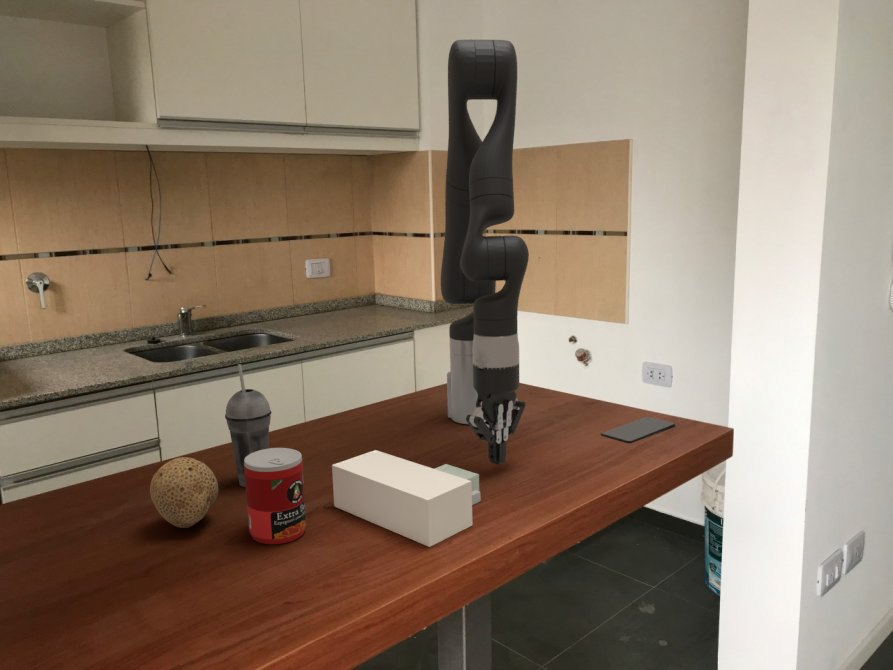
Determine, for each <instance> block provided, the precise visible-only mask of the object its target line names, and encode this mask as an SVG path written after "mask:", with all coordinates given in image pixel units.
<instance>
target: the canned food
mask: <svg viewBox="0 0 893 670" xmlns="http://www.w3.org/2000/svg"><path fill="white" fill-rule="evenodd" d="M244 470H245V484H246V487H245V496H246V505H247V517H248V518H247V519H248V530H249V531H248V532H249V533H250V536H251V538H252V539H253V541H255V542H257V543H260V544H264V545H281V544H286V543H290V542H293V541H296V540H297V539H299V538H301V537H302V536H303V535H304V533H305V531H306V527H307V513H306V499H305V497H306V496H305V495H306V494H305V481H304V465H303V455H302V453H301V452H300V451H299V450H296V449H293V448H288V447H269V449H263V450H259V451H256V452H253V453H251V454H249V455H248V456H246V457H245V459H244Z"/></svg>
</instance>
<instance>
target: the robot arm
mask: <svg viewBox="0 0 893 670" xmlns="http://www.w3.org/2000/svg"><path fill="white" fill-rule="evenodd" d="M516 53H517V51H516V49H515V46H514V44H513V43H512V42H511V41H509V40H505V39H457V40H455V41H453V43H452V44H451V46H450V48H449V52H448V57H447V58H448V60H447V61H448V62H447V104H448V105H447V106H448V111H447V112H448V142H447V159H446V172H445V191H444V193H445V195H444V197H445V198H444V199H445V203H444V204H445V205H444V206H445V212H444V213H445V214H444V216H445V217H444V218H445V219H444V223H445V224H444V226H445V227H444V240H443V241H444V242H443V249H442V250H443V251H442V258H441V259H442V260H441V272H440V292H441V296H442V299H443V301H444V302H446V303H447V304H450V305H467V304H469V305H470V304H473V306H472V307H473V311H472V312H471V313H469V314H467V315H465V316H464V317H460V318H459V319H457V320H454V321H452V322H451V323H450V324H449V329H448V331H449V332H448V333H449V334H448V335H449V361H450V362H449V363H450V366H449V367H450V369H449V371H448V372H447V373H446V390H447V391H446V393H447V394H446V395H447V418H450V419H451V420H452V421H453V422H455V423H458V424H464V425H469V427H470V428H471V429H472V431H473V432H474V434H475V436H477V438H478V440H480V441H485V442H487V443H488V444H487V445H488V446H487V447H488V448H487V449H488V453H487V454H488V457H487V458H488V459H489V463H492V464H494V465H498V466H499V465H501V464H503V463H506V456H507V441H508V438H509V436H510V435H514V434H515V432H516V430H517V428H518V427H517V426H518V424H519V422H520V421H521V417H522V415H523V412H524V410H525V408H526V405H527V404H526V402H525V401H522V400H519V399H518V398H517V393H516V391H517V390H519V388H520V344H519V343H520V341H519V333H518V307H519V298H520V295H521V294H520V293H521V289H522V285H523V281H524V278H525V275H526V272H527V268H528V264H529V257H530V255H529V247H528V245H527V243H526V242H525V240H524V239H523V238H522V237H520V236H518V235H491V236H489V235H488V236H485V235H484V236H483V234H484V232H485V230H487V229H488V228H490V227H492V226H497V225H500V224H504V223H507V222H509V221H511V220H512V219H513V218H514V214H515V195H514V177H513V159H514V158H513V155H514V154H513V151H514V140H515V127H516V114H517V113H516V111H517V97H518V96H517V95H518V94H517V93H518V92H517V91H518V57H517V54H516ZM470 100H471V101H472V100H473V101H474V100H475V101H476V100H479V101H480V100H481V101H482V100H493V101H496V110H495V116H494V119H493V122H492V124H491V126H490V127H489V129H488V131H487V133H486V136H484V139H483V140H482V139H481V137H480V136H479V133H478V132H477V130H476V128H475V126H474V123H473V121H472V119H471V116H470V114H469V110H468V101H470ZM497 281H498V282H499V281H500V282H501V281H504V282H505V283H504V285H503V286H502V287H501V289H500V290H498V291H496V287H497Z"/></svg>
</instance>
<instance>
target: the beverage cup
mask: <svg viewBox="0 0 893 670" xmlns="http://www.w3.org/2000/svg"><path fill="white" fill-rule="evenodd" d="M237 367H238V368H237V369H238V376H239V380H240V381H239V383H240V387H241V389H240V390H239V391H236V392H235V393H234V394H233V395H232V396H230V399H229V400H228V401H227V404H226V407H225V414H224V418H225V420H226V424H227V427H228V430H229V434H230V439H231V446H232V451H233V456H234V457H233V458H234V463H235V468H236V474H237V477H238V481H239V482H238V483H239V485H240V486H241V487H243V488H246V484H245V470H244V459H245V457H246V456H248V455H249V454H251V453H253V452H256V451H259V450H263V449H269V448H270V447H269V446H270V425H271V419H272V418H271V416H272V410H271V407H270V403H269V401H268V399H267V398H266V396H265V395H264V394H263V393H262V392H261V391H258V390H256V389H252V388H246V386H245V385H246V384H245V381H244V375H243V368H242V367H243V366H242V364H240V363H239V364H237Z"/></svg>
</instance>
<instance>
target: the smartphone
mask: <svg viewBox="0 0 893 670" xmlns="http://www.w3.org/2000/svg"><path fill="white" fill-rule="evenodd" d="M675 427H676V423H675V422H671V421H668V420H663V419H659V418H655V417H653V416H652V417H651V416H645V417H641V418H638V419H636V420H634V421H630V422H628V423H625V424H622V425H620V426H617V427H614V428H612V429H608V430H606V431H603V432H601V433H600V436H602V437H605V438H608V439H610V440H611V439H612V440H616V441H620V442H622V443H625V444H633V443H635V442H638V441H640V440H644V439H646V438H649V437H651V436H654V435H656V434H660V433H662V432H665V431H667V430H670V429H673V428H675Z"/></svg>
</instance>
